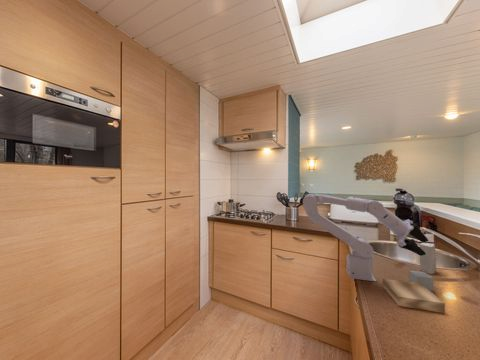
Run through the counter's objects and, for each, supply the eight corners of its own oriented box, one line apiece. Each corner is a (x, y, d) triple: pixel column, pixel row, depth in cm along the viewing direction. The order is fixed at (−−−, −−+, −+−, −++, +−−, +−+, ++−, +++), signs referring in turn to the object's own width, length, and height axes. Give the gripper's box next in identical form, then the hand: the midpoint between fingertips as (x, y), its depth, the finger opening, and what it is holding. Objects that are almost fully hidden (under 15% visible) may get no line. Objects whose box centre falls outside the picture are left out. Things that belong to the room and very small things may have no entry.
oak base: (398, 305, 63) (398, 296, 63) (382, 286, 74) (382, 278, 74) (444, 313, 59) (444, 303, 59) (421, 291, 70) (420, 283, 70)
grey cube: (417, 289, 72) (416, 276, 72) (409, 282, 77) (409, 270, 77) (433, 291, 71) (433, 278, 71) (424, 284, 75) (424, 272, 75)
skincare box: (433, 274, 83) (432, 247, 83) (419, 270, 87) (418, 244, 87) (436, 271, 86) (436, 244, 87) (423, 267, 90) (423, 241, 90)
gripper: (397, 230, 71) (432, 258, 67) (405, 208, 79) (437, 232, 75) (381, 236, 77) (413, 262, 73) (390, 215, 85) (419, 238, 81)
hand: (424, 247), depth 75 cm, fingers open, 7 cm apart
